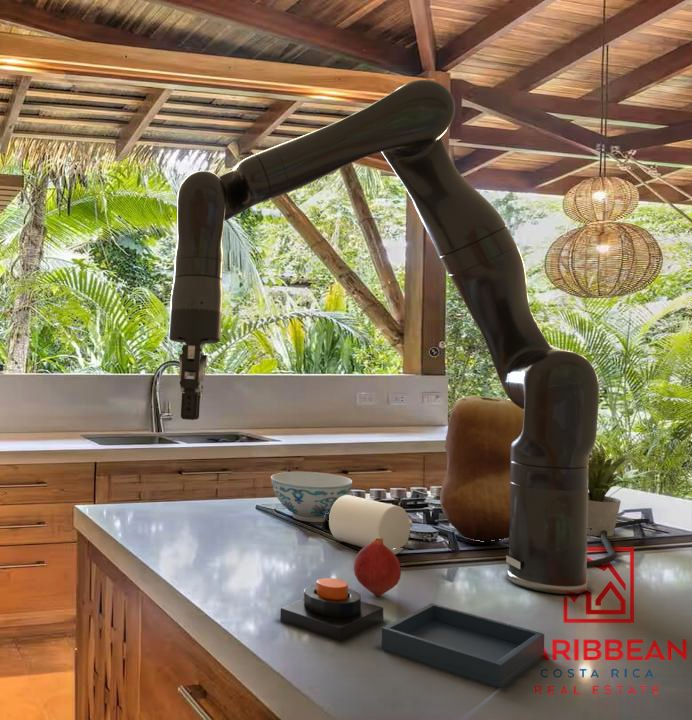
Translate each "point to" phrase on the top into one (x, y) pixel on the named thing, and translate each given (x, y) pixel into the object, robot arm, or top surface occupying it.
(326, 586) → the button
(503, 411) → the butternut squash
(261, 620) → the top surface
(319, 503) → the chinaware
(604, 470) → the house plant
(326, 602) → the panel
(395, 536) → the mug
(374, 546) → the onion
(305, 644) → the top surface
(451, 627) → the tray
